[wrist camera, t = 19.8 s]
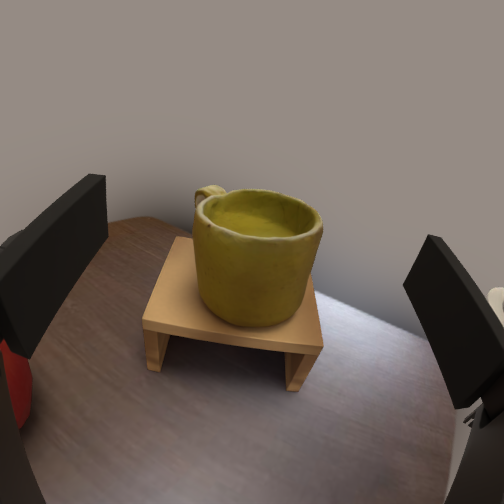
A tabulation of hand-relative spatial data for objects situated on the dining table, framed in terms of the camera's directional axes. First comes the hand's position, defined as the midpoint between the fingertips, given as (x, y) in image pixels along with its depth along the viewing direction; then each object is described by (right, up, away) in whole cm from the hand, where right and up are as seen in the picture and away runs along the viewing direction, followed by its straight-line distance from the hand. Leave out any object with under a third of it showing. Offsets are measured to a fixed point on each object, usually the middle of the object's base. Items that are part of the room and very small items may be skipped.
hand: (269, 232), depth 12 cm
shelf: (-3, -9, +20) cm, 22 cm away
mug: (-2, -4, +16) cm, 17 cm away
